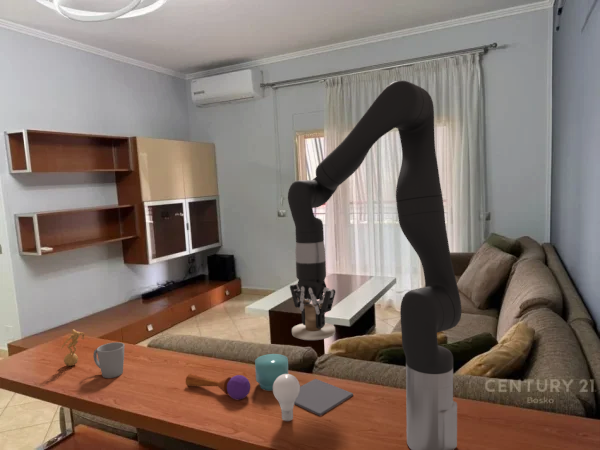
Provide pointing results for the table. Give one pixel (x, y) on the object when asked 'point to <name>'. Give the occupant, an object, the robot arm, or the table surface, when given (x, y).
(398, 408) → the table surface
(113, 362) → the cup
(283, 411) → the lightbulb
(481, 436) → the table surface
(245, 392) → the kendama
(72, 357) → the figurine
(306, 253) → the robot arm
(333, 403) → the mat
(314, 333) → the lid
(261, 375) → the teal rounded dome
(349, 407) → the table surface
